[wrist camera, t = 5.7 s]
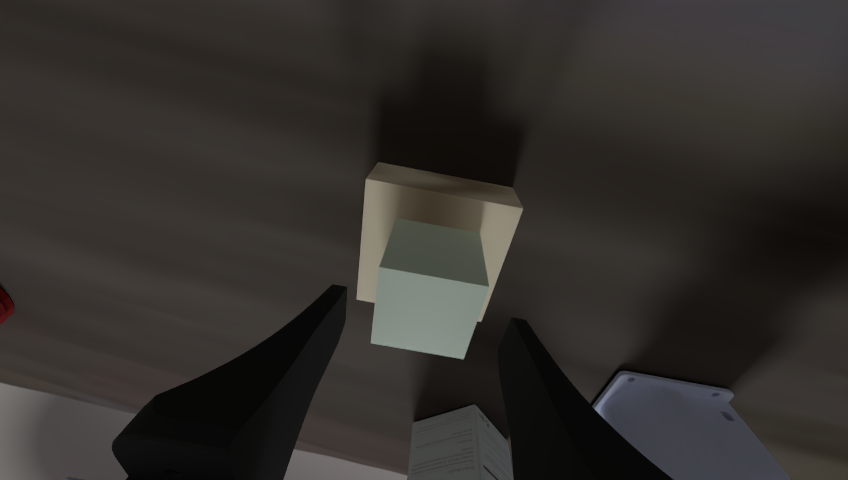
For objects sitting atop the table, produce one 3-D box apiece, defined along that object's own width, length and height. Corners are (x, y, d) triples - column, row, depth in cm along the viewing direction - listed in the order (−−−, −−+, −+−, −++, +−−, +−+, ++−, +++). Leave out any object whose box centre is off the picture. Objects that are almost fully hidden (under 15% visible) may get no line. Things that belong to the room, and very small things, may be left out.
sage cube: (480, 233, 16) (489, 286, 12) (461, 297, 18) (463, 359, 15) (396, 217, 16) (379, 266, 12) (387, 283, 18) (370, 343, 14)
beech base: (512, 187, 18) (523, 208, 15) (477, 291, 22) (481, 322, 19) (378, 161, 18) (365, 178, 15) (367, 271, 22) (356, 299, 19)
